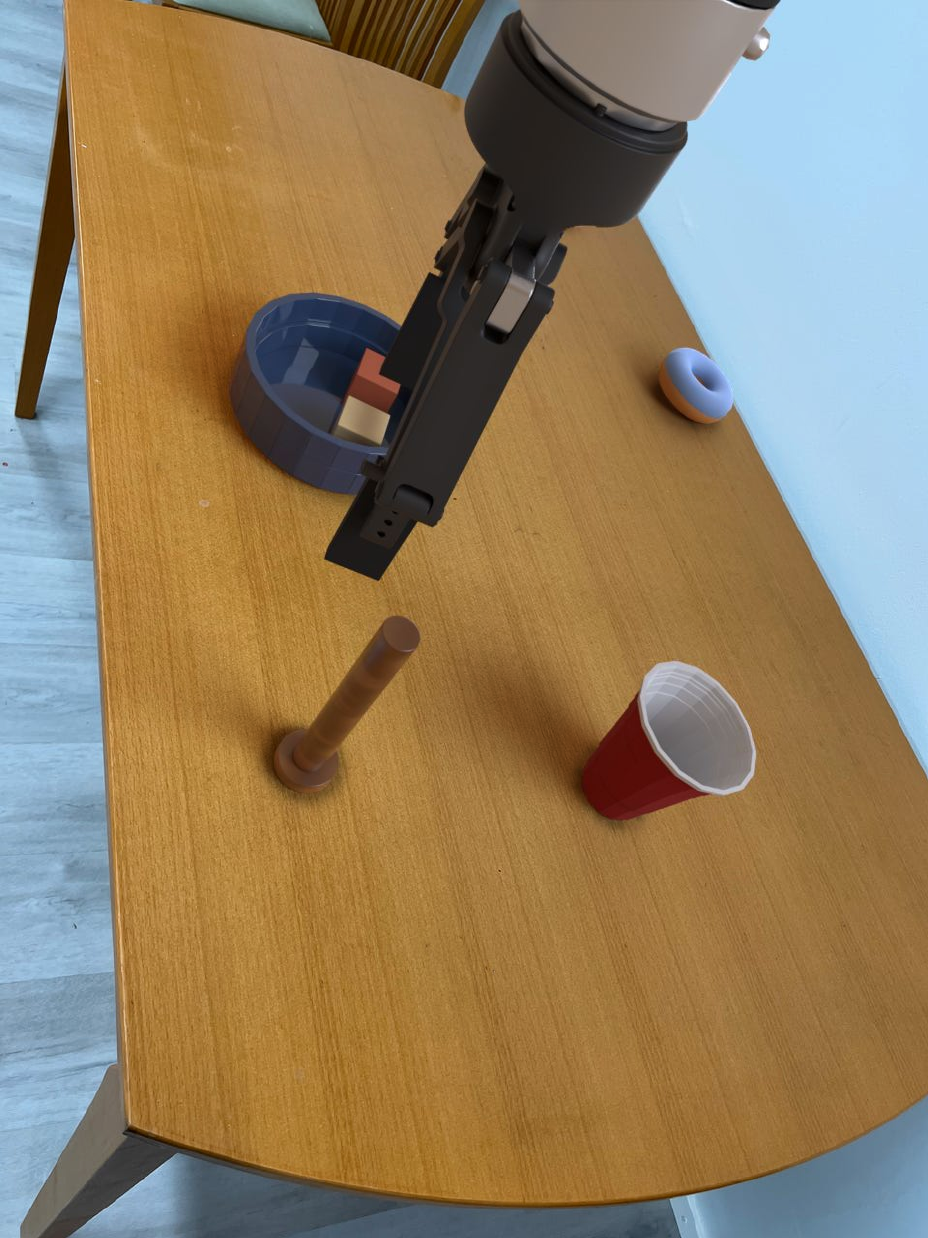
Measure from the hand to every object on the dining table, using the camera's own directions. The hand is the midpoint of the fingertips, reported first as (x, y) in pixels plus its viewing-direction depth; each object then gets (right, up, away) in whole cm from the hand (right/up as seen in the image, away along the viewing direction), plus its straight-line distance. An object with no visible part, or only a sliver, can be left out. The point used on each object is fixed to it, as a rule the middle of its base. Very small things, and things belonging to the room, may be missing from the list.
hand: (379, 465), depth 49 cm
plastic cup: (+16, -22, +31) cm, 41 cm away
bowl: (-8, +11, +39) cm, 42 cm away
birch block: (-6, +7, +37) cm, 38 cm away
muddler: (-7, -18, +20) cm, 28 cm away
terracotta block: (-5, +13, +42) cm, 44 cm away
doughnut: (+31, +19, +68) cm, 77 cm away
